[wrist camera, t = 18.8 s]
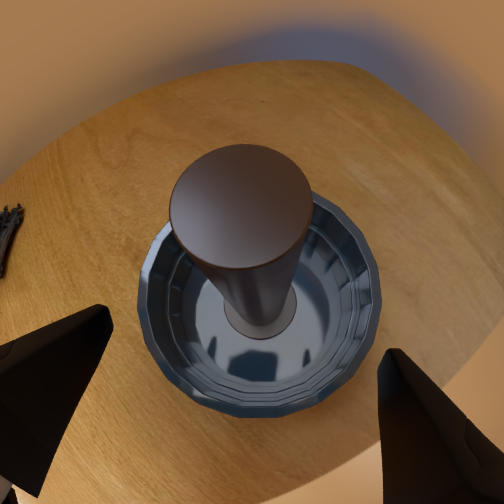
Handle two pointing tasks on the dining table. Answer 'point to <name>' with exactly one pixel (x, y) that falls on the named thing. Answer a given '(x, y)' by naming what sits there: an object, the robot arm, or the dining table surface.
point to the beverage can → (7, 230)
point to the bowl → (269, 350)
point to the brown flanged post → (245, 231)
